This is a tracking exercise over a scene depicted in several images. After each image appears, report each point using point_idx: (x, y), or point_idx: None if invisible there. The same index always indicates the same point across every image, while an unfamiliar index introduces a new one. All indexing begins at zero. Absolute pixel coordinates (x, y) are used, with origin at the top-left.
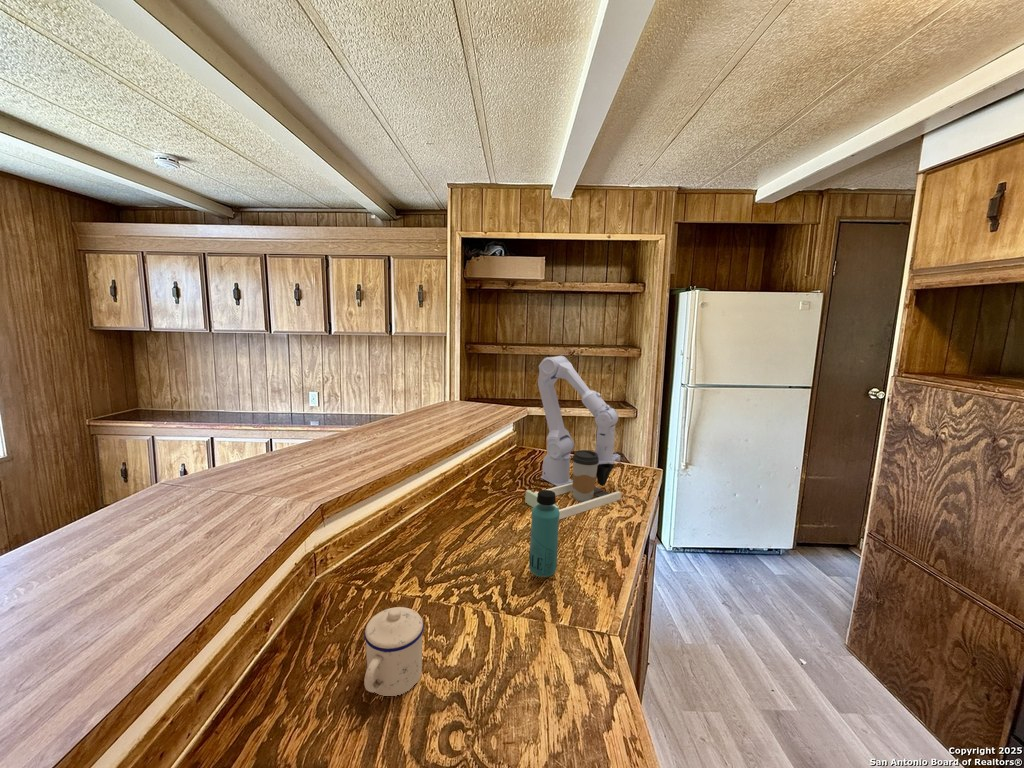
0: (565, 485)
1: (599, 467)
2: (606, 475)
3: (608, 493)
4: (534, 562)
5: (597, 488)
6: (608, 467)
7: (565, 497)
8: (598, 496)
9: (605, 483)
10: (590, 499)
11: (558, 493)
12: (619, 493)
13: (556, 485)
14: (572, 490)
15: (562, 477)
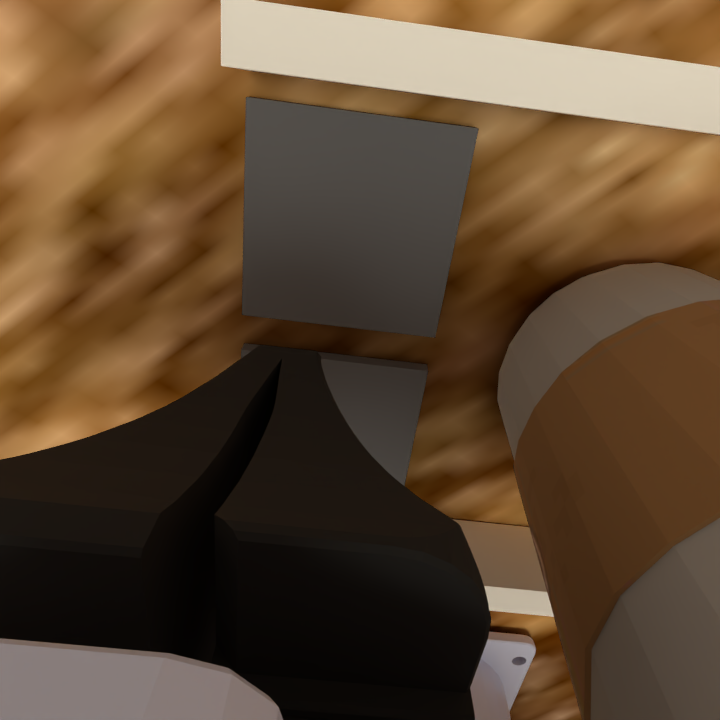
0: None
1: (464, 691)
2: (240, 421)
3: (263, 245)
4: None
5: None
6: (164, 561)
7: None
8: (445, 276)
9: (258, 350)
10: (664, 264)
11: None
12: (266, 3)
13: (534, 649)
14: (513, 529)
15: (475, 710)
